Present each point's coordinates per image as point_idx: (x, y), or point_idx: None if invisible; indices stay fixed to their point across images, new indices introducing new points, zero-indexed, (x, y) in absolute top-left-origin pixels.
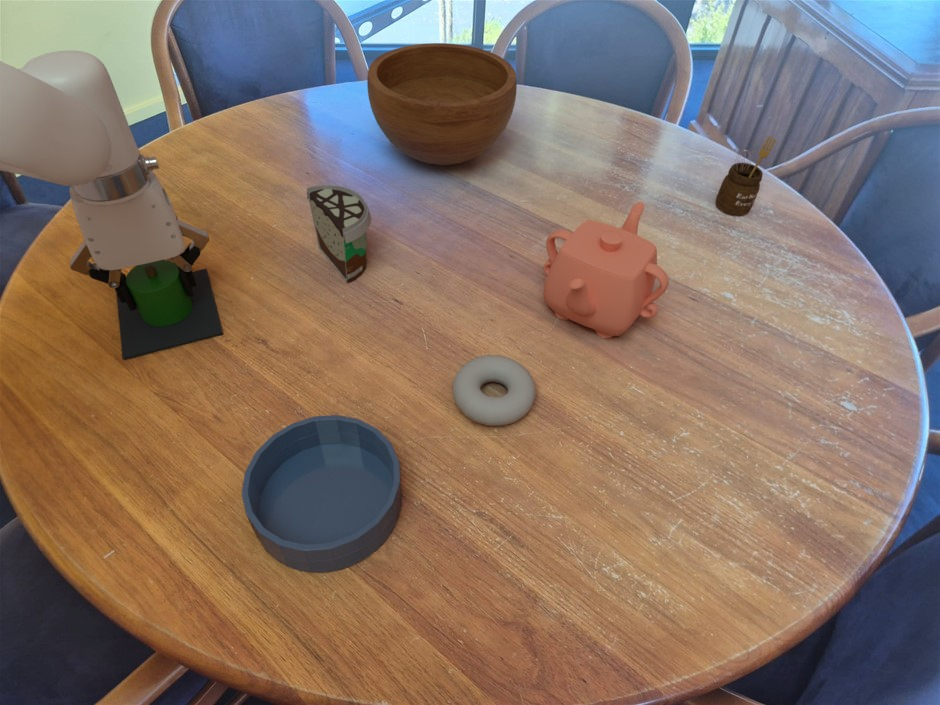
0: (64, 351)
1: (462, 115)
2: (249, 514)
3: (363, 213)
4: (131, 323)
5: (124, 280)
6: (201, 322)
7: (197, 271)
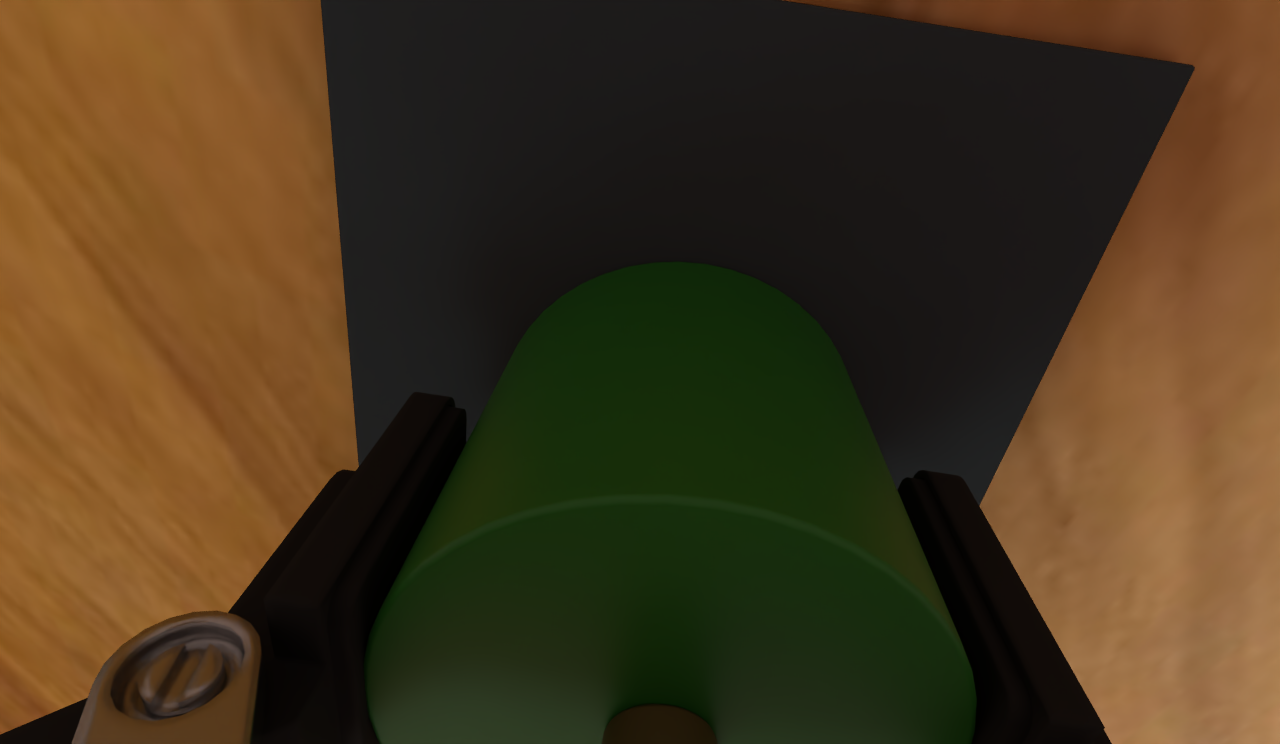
0: (54, 427)
1: None
2: None
3: None
4: None
5: (351, 707)
6: None
7: (1095, 76)
